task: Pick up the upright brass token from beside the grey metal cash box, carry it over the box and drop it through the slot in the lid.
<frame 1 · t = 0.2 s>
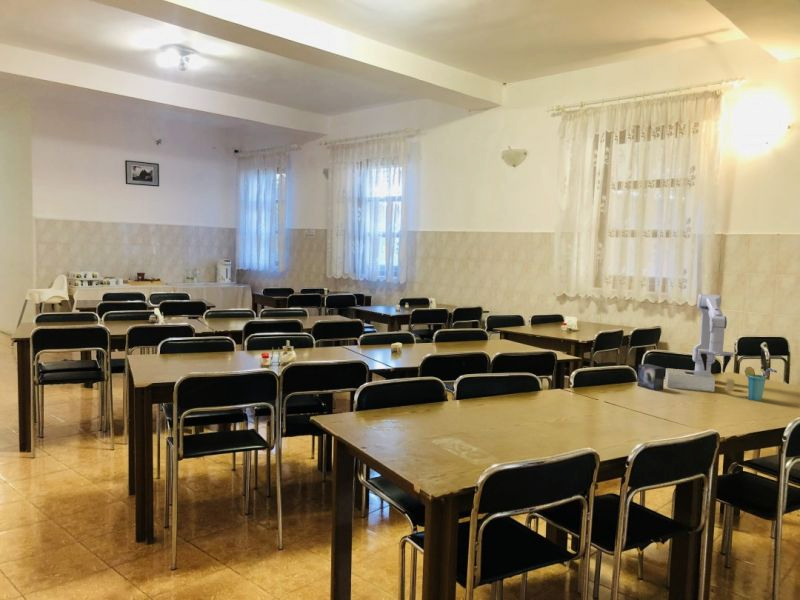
hand: (714, 370, 288), 10 cm above the table, tool pointing down, fingers open, 7 cm apart
small box: (649, 388, 292), on the table
brass token: (729, 389, 294), on the table
cup: (757, 400, 274), on the table
cash box: (688, 386, 298), on the table
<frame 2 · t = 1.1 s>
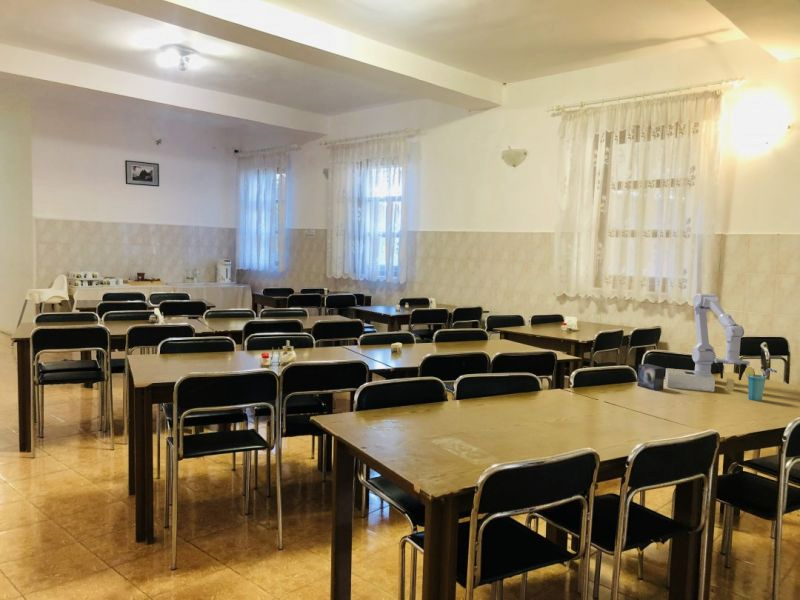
hand: (730, 379, 294), 5 cm above the table, tool pointing down, fingers open, 7 cm apart
nothing on the table moved.
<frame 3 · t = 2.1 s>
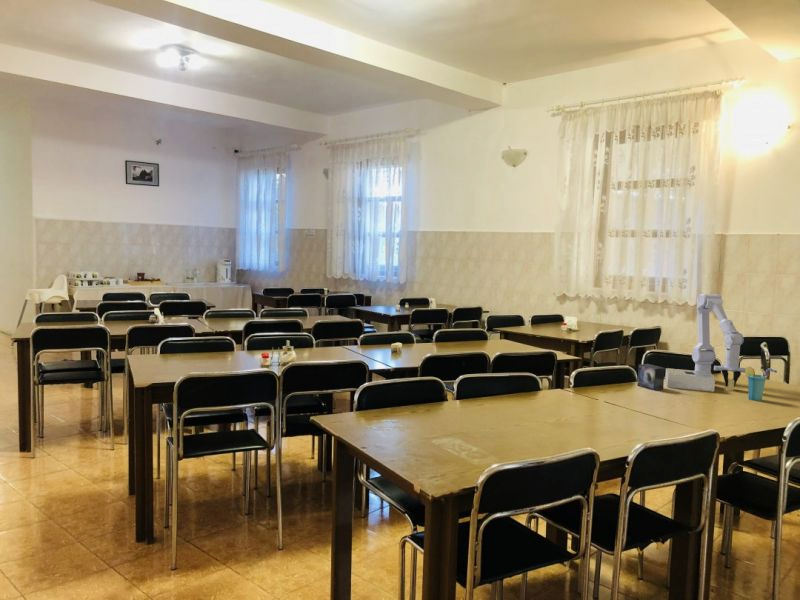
hand: (729, 386, 294), 1 cm above the table, tool pointing down, fingers closed on brass token, 2 cm apart
brass token: (729, 389, 294), on the table, touching gripper
everything else where it was.
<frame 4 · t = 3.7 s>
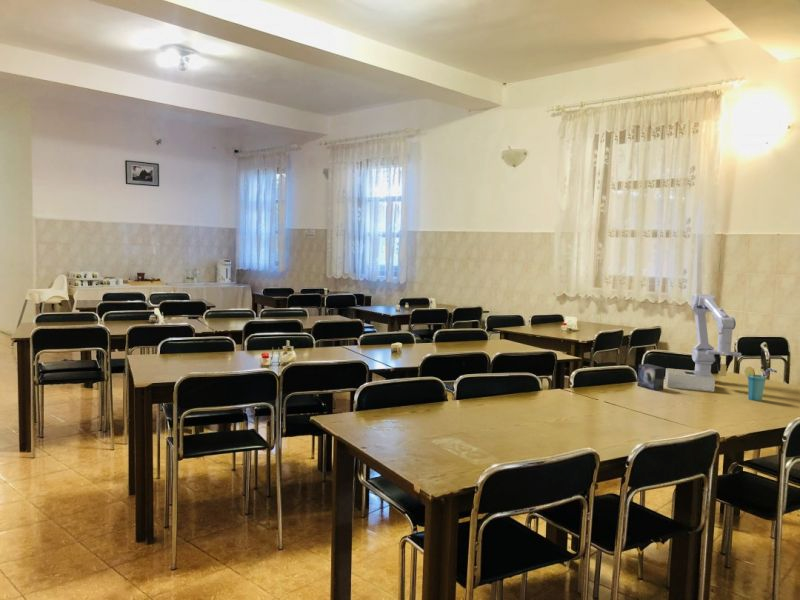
hand: (722, 370, 295), 9 cm above the table, tool pointing down, fingers closed on brass token, 2 cm apart
brass token: (721, 374, 295), point 7 cm above the table, touching gripper
everything else where it was.
when the fingers open (9 cm above the table, at t = 5.1 s): brass token drops 7 cm, resting in cash box.
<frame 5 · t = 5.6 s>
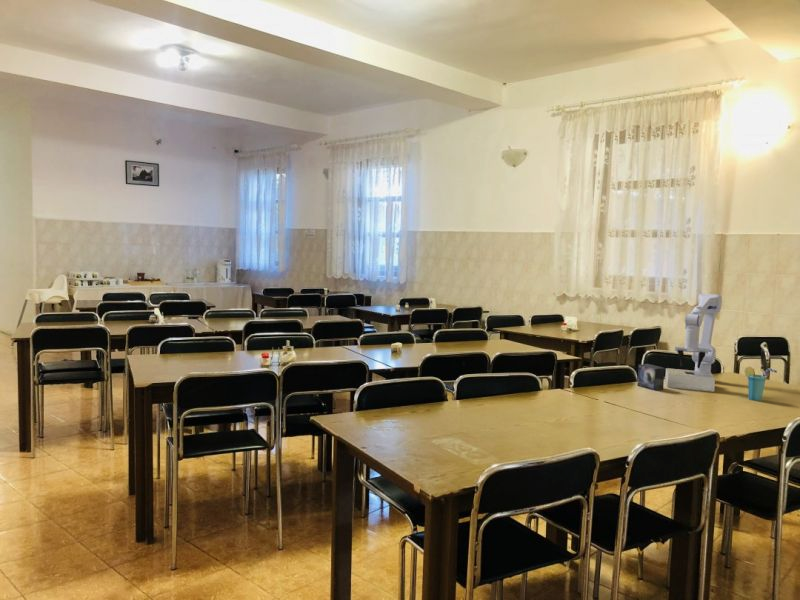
hand: (690, 367, 298), 9 cm above the table, tool pointing down, fingers open, 7 cm apart
brass token: (688, 386, 299), resting in cash box
everything else where it was.
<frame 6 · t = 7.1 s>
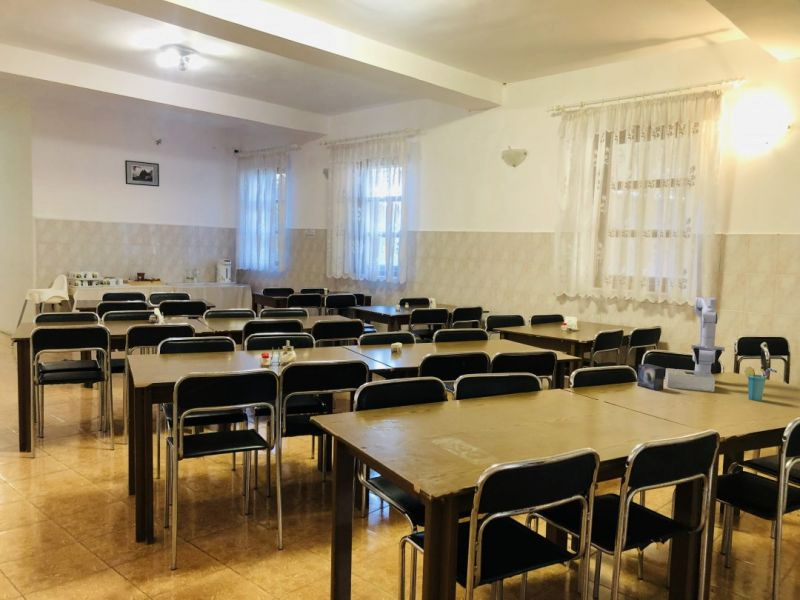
hand: (706, 364, 300), 10 cm above the table, tool pointing down, fingers open, 7 cm apart
nothing on the table moved.
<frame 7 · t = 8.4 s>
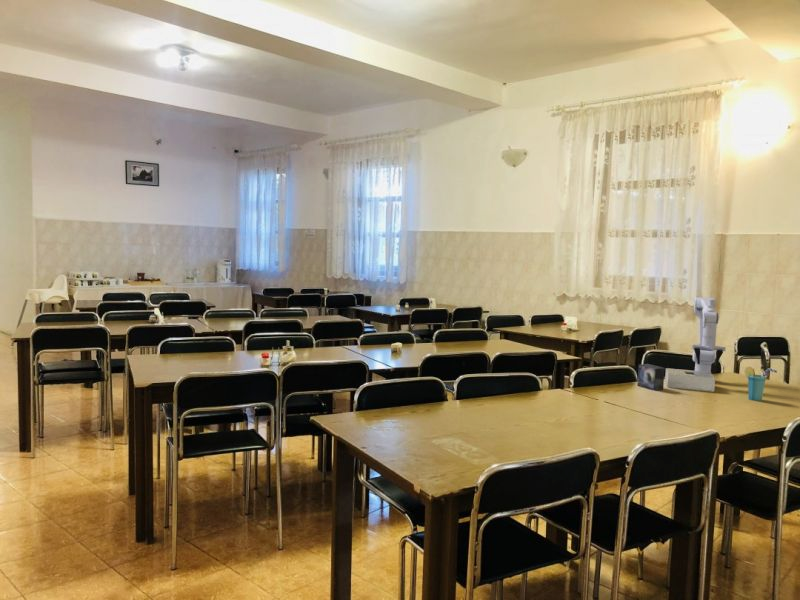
hand: (707, 364, 300), 10 cm above the table, tool pointing down, fingers open, 7 cm apart
nothing on the table moved.
at the end: brass token inside the target area on the cash box (0.5 cm from its centre), point 0.0 cm above the cash box's base; the gripper is holding nothing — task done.
